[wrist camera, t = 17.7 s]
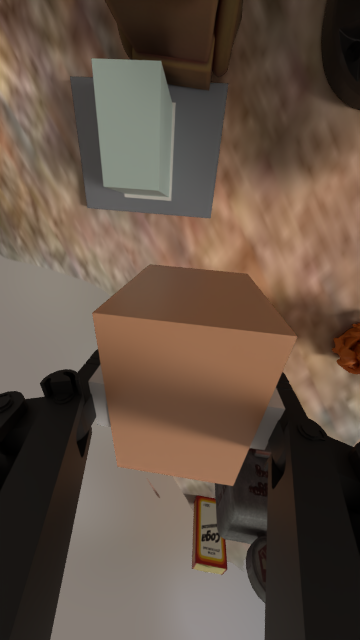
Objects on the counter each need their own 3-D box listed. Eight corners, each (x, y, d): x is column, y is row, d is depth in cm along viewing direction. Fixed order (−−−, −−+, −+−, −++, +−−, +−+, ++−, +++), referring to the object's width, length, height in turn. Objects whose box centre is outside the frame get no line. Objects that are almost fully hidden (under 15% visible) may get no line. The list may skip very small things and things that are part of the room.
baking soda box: (222, 500, 69) (227, 571, 55) (218, 507, 73) (222, 576, 58) (196, 495, 70) (195, 564, 56) (194, 502, 73) (191, 570, 59)
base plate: (77, 84, 23) (69, 76, 22) (226, 91, 22) (228, 83, 21) (92, 208, 29) (87, 207, 28) (210, 218, 28) (210, 218, 27)
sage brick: (122, 102, 22) (91, 58, 16) (172, 105, 22) (161, 60, 16) (126, 194, 27) (103, 186, 20) (169, 197, 26) (158, 190, 20)
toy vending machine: (262, 361, 39) (364, 601, 15) (248, 398, 45) (305, 621, 20) (219, 355, 40) (246, 579, 15) (210, 393, 45) (219, 603, 20)
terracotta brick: (149, 264, 12) (92, 313, 6) (247, 273, 12) (297, 336, 5) (150, 372, 16) (117, 466, 10) (221, 381, 16) (233, 485, 10)
